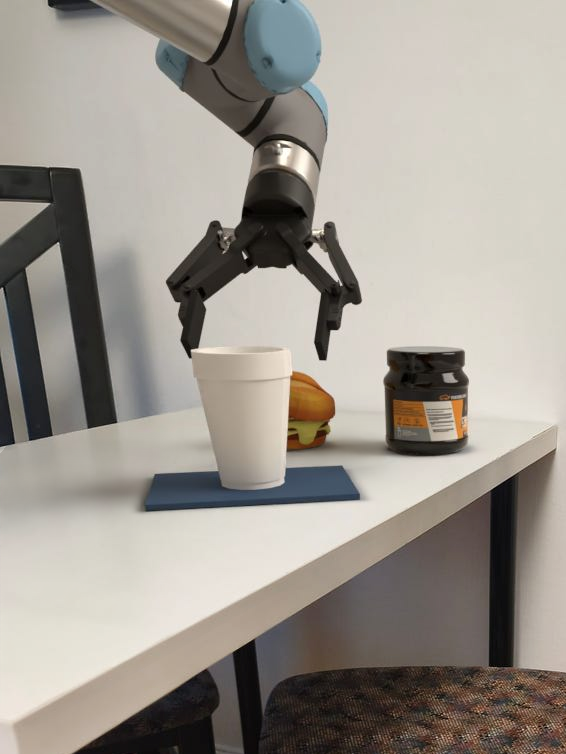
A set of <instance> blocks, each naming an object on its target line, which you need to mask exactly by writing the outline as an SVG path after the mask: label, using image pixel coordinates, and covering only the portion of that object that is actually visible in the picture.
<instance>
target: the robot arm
mask: <svg viewBox="0 0 566 754" xmlns="http://www.w3.org/2000/svg"><path fill="white" fill-rule="evenodd" d="M89 1H90V2H92V3H94V4H96V5H97V6H99V7H101V8H103V9H105V10H106V11H108V12H110V13H112V14H114V15H116V16H118V17H120V18H121V19H123V20H125V21H127V22H129V23H130V24H132V25H133V26H136V27H138V28H139V29H141V30H143V31H144V32H147V33H149V34H151V35H152V36H154V37H156V38H158V39H159V40H158V43H157V46H156V49H155V54H154V58H155V59H154V60H155V65H156V66H157V68H158V69H159V71H161V73H162V74H164V76H166V77H167V78H168V79H169V80H170V81H171V82H172V83H173V84H174V85H176V86H177V87H178V89H179V90H180V91H181V92H182V93H185V94H187V95H188V96H189V97H190V98H192V99H193V100H194V101H195V102H197V103H198V104H199V105H201V106H202V107H203V108H204V109H205V110H206V111H208V112H209V113H210V114H211V115H213V116H214V117H215V118H217V119H218V121H219V120H220V121H221V122H222V123H223V124H224V125H225V126H227V127H228V128H229V129H230V130H232V131H233V132H234V133H235V134H237V135H238V136H239V137H240V138H241V139H242V140H244V141H245V142H247V143H248V144H249V145H250V146H251V147H252V148H253V152H252V157H251V159H252V160H251V165H250V169H249V174H248V180H247V186H246V189H245V193H244V199H243V203H242V209H241V216H240V217H241V218H240V221H239V223H238V224H237V225H236V226H235V228H232V227H223V226H222V224H221V221H219V220H215V219H214V220H212V221H210V222H209V224H208V227H207V230H206V233H205V235H203V237H202V239H201V240H199V242H198V243H197V244H196V245H195V246H194V247H193V248H192V250H191V251H190V252H189V253H188V254H187V255H186V257H185V258H184V259H183V260H182V261H181V263H180V264H179V265H178V266H177V267H176V269H175V270H174V271H172V273H170V275H169V276H168V277H167V278H166V279H165V285H166V287H167V288H168V290H169V293H170V295H171V298H172V300H173V301H174V302H175V303H179V307H178V311H177V317H178V321H179V322H180V324H181V327H182V330H181V335H180V340H179V341H180V344H181V345H182V347H183V349H184V351H185V353H186V355H187V358H188V359H189V360H190V359H191V360H192V356H191V350H193V349H198V348H200V343H201V338H202V332H203V329H204V324H205V319H206V315H207V307H206V305H205V302H206V301H208V299H210V298H212V297H213V296H214V295H215V294H217V292H219V291H220V290H222V289H223V288H225V287H226V286H227V285H229V284H230V283H231V282H232V281H233V280H235V279H236V278H237V277H238V276H240V275H241V274H243V275H246V274H248V273H249V272H251V271H252V270H254V269H255V268H256V267H257V269H270V268H276V269H287V267H289V266H293V267H294V268H295V270H296V271H297V272H298V273H299V274H300V276H301V275H303V276H304V277H305V278H306V279H307V280H308V281H309V282H310V284H312V285H313V287H314V288H315V289H316V290H317V291H318V292H319V293H320V298H319V305H318V311H317V319H316V325H315V331H314V339H313V343H314V346H315V350H316V354H317V357H318V361H322V362H323V361H324V362H327V360H328V351H329V345H330V338H331V331H339V330H340V328H341V326H342V318H343V312H344V308H345V306H346V305H348V304H352V305H354V306H359V305H360V304H362V302H363V298H362V292H361V288H360V283H359V280H358V278H357V276H356V275H355V272H354V271H353V269H352V267H351V265H350V263H349V260H348V259H347V257H346V255H345V253H344V251H343V249H342V247H341V245H340V241H339V237H338V231H337V227H336V223H335V222H334V221H326V222H325V223H324V224H323V228H315V229H313V223H314V217H315V209H316V204H317V198H318V197H317V196H318V191H319V183H320V176H321V170H322V164H323V158H324V153H325V148H326V144H327V141H328V135H329V133H328V130H329V108H328V104H327V103H328V102H327V100H326V98H325V96H324V94H323V92H322V91H321V90H320V88H319V87H318V86H317V85H316V84H315V83H313V81H311V80H312V78H313V77H314V76H315V75H316V72H317V70H318V68H319V66H320V64H321V56H322V38H321V33H320V29H319V27H318V24H317V22H316V19H315V18H314V16H313V14H312V13H311V11H310V10H309V9H308V7H307V6H306V5H305V4H304V3H303V2H302V1H301V0H89ZM314 244H317V245H318V246H319V248H320V249H321V250H322V251H323V253H327V254H328V259H329V261H330V263H331V265H332V267H333V270H334V271H335V273H336V275H337V277H338V279H337V281H336V279H334V278H333V276H332V275H331V274H330V273H329V272H328V271H327V270H326V269H325V267H323V266H322V265H321V264H320V262H319V261H318V260H317V259H315V257H314V256H313V255H312V254H311V253H310V252H309V250H311V248H312V247H313V245H314ZM244 255H245V256H244ZM245 257H246V258H245Z"/></svg>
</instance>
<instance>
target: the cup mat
mask: <svg viewBox="0 0 566 754" xmlns="http://www.w3.org/2000/svg"><path fill="white" fill-rule="evenodd" d="M153 475H154V476H153V478H152V481H151V484H150V487H149V491H148V494H147V497H146V500H145V503H144V510H145V511H146V512H150V511H167V510H168V511H169V510H186V509H187V510H188V509H189V510H190V509H204V508H205V509H206V508H223V507H226V508H227V507H245V506H260V505H261V506H262V505H263V506H264V505H279V504H281V505H282V504H300V503H317V502H318V503H319V502H335V501H355V500H356V501H357V500H360V499H361V493H360V492H359V489H358V488H357V487H356V485H355V484H354V482H353V480H352V479H351V477H350V476H349V473H348V472H347V471H346V468H345V467H344V466H343V465H341V464H340V465H321V466H319V465H318V466H299V467H297V466H295V467H285V477H284V482H285V483H283V484H282V485H280V486H276V487H272V488H267V489H258V490H237V489H229V488H226V487H223V486H222V483H221V480H220V475H219V471H218V470H209V471H190V472H189V471H185V472H165V473H154V474H153Z"/></svg>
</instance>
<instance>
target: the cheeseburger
mask: <svg viewBox="0 0 566 754" xmlns="http://www.w3.org/2000/svg"><path fill="white" fill-rule="evenodd" d="M335 416H336V402H335V398H334V397H333V395H332V394H330V393H329V392H328V391H326V390H325V389H324V388H323V387H322V386H321V385H320V384H319V383H318V382H317V380H316V379H314V378H313V377H311V376H310V375H308V374H306V373H304V372H300V371H297V370H296V371H295V370H292V375H291V376H290V392H289V411H288V430H287V449H286V451H287V450H303V449H310V448H311V449H312V448H315V447H319V446H321V445H323V444H324V443H326V440H327V437H328V436H329V435H330V434H331V425H330V424H329V423H330V422H331V420H332V419H334V417H335Z"/></svg>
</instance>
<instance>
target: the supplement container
mask: <svg viewBox="0 0 566 754" xmlns="http://www.w3.org/2000/svg"><path fill="white" fill-rule="evenodd" d="M386 366H387V367H389V369H388V371H387V373H386V374H385V375H384V376H383V379H382V383H383V384H382V385H383V386H384V414H385V416H384V417H385V418H384V419H385V435H384V436H385V438H384V439H385V444H386V445H387V446H388V447H389V449H391V450H392V451H394V452H398V453H400V454H407V455H416V456H418V455H419V456H435V455H438V456H439V455H448V454H454V453H457V452H460V451H462V450H464V449H465V448H466V446H467V445H468V442H469V433H468V432H469V414H468V413H469V385H470V379H469V377H468V375H467V374H466V373H465V371H464V369H463V368H464V367H465V366H466V351H465V350H464V349H463V348H460V347H453V346H452V347H451V346H435V345H434V346H433V345H431V346H430V345H429V346H427V345H426V346H425V345H423V346H422V345H416V346H415V345H414V346H411V345H409V346H397V347H390V348H388V349H387V350H386Z"/></svg>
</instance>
